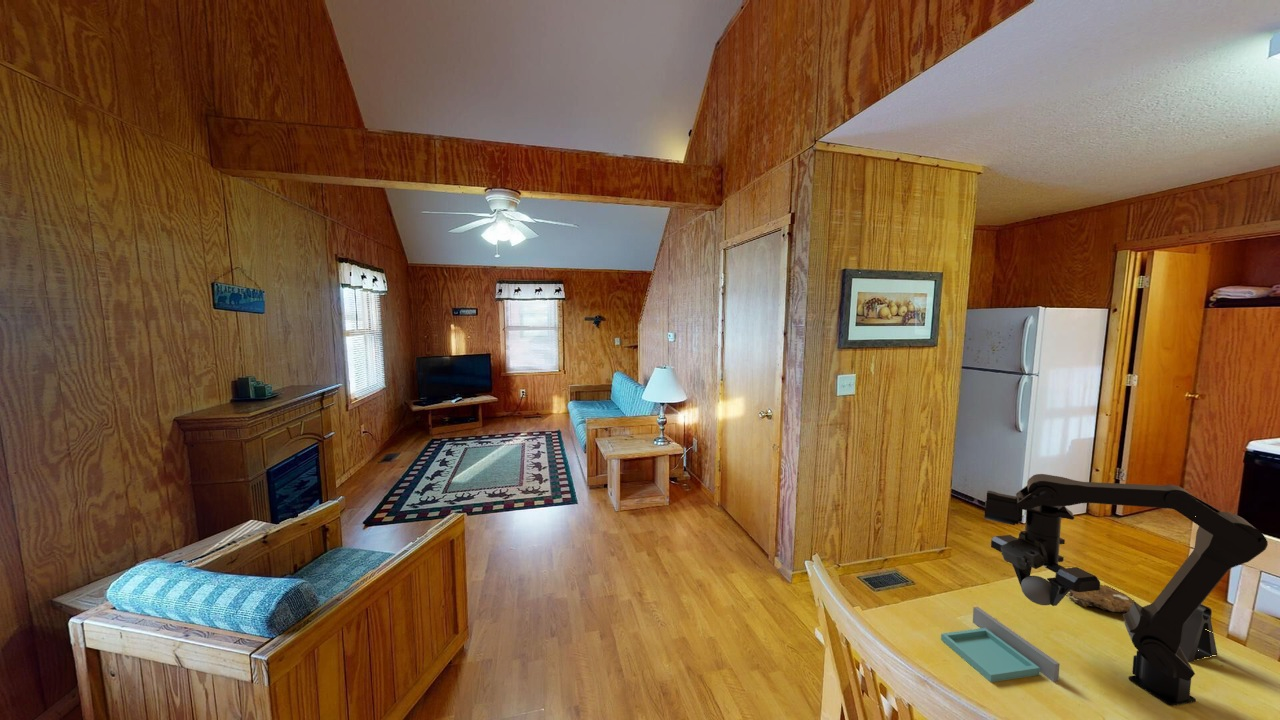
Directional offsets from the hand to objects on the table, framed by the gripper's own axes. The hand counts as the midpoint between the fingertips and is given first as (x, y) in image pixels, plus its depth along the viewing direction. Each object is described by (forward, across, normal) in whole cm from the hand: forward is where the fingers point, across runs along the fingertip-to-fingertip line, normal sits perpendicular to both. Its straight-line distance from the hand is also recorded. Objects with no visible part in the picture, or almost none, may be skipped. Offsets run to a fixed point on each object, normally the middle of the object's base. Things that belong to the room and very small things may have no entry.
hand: (1038, 596), depth 95 cm
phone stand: (+12, +6, +32) cm, 35 cm away
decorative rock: (+13, -10, +33) cm, 36 cm away
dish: (+12, +1, -14) cm, 18 cm away
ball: (-2, 0, 0) cm, 2 cm away
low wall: (+12, 0, -6) cm, 14 cm away
